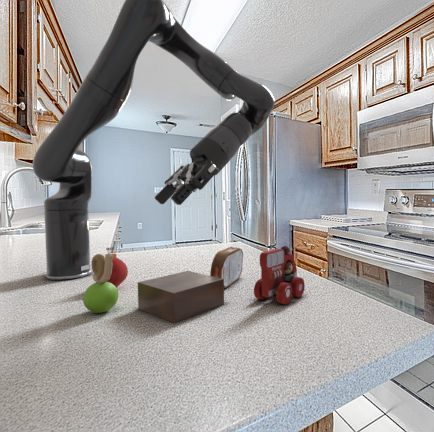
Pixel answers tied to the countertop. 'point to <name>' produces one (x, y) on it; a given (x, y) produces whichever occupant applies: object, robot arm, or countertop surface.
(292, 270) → the toy fire truck
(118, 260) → the onion
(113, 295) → the green tan rounded piece
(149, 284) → the walnut block
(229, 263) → the tin
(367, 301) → the countertop surface
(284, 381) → the countertop surface
